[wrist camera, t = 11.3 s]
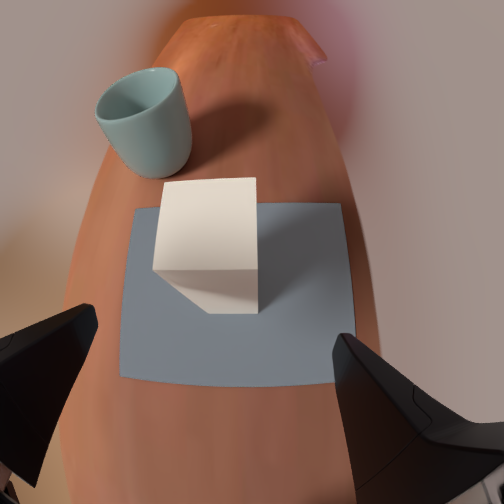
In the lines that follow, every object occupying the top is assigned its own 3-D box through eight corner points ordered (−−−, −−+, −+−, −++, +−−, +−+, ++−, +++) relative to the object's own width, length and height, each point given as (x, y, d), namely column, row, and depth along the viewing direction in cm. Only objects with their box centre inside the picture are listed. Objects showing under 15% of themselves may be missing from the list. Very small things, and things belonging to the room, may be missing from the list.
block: (258, 313, 21) (257, 269, 10) (208, 313, 22) (152, 270, 10) (257, 265, 23) (255, 177, 11) (209, 266, 23) (164, 182, 11)
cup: (201, 131, 29) (184, 60, 19) (197, 186, 26) (172, 110, 17) (138, 141, 29) (109, 78, 19) (126, 194, 26) (81, 131, 17)
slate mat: (355, 378, 20) (356, 379, 19) (121, 375, 20) (119, 376, 20) (339, 204, 25) (340, 203, 25) (136, 210, 25) (135, 208, 25)
